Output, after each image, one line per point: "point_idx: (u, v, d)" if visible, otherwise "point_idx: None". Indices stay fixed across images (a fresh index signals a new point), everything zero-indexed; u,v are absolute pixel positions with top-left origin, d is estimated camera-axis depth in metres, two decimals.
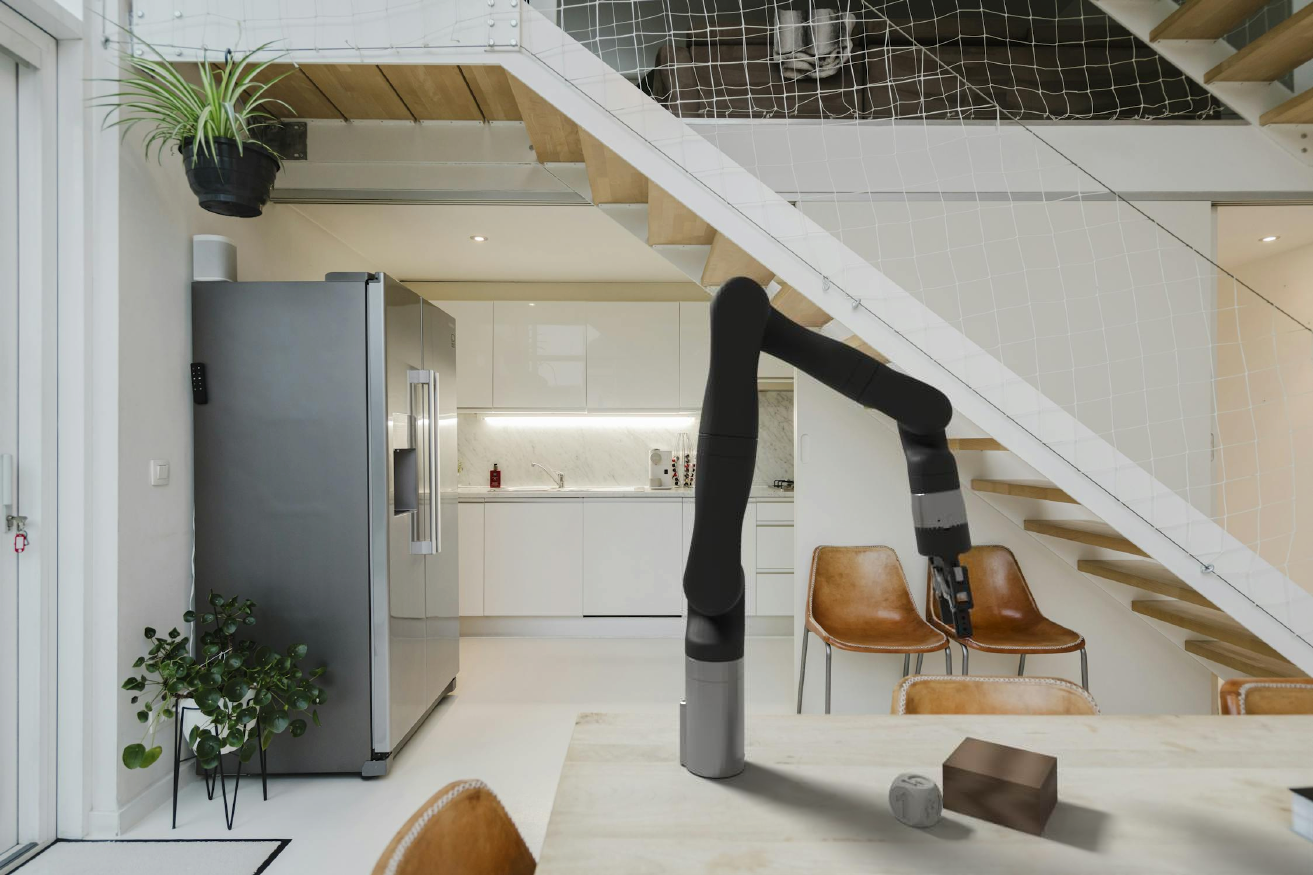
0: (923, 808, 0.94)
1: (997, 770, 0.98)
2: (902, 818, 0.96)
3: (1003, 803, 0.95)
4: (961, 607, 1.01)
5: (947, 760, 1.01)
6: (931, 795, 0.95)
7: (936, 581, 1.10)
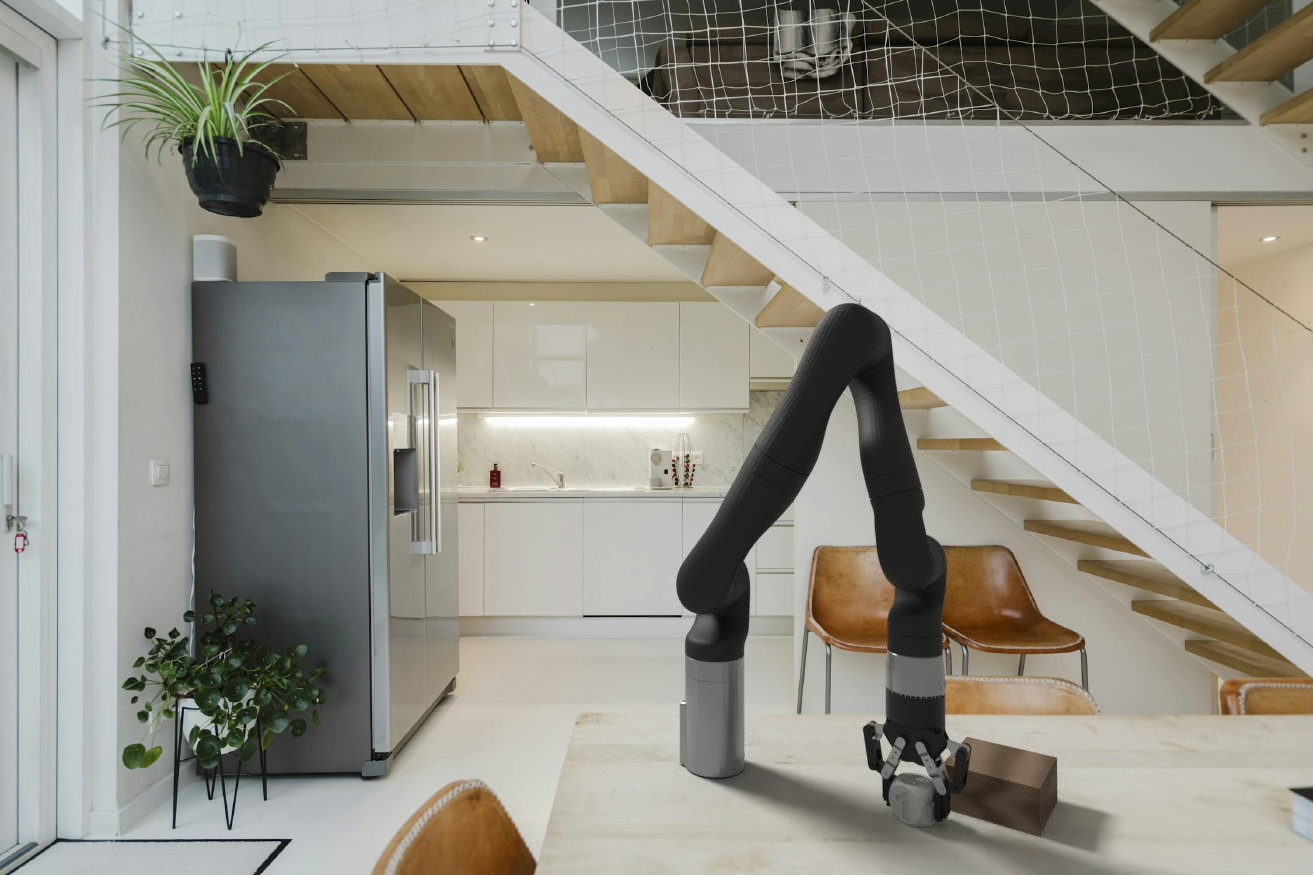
0: (923, 807, 0.94)
1: (997, 770, 0.98)
2: (902, 817, 0.96)
3: (1003, 803, 0.95)
4: (961, 788, 0.93)
5: (947, 760, 1.01)
6: (931, 794, 0.95)
7: (900, 755, 0.97)
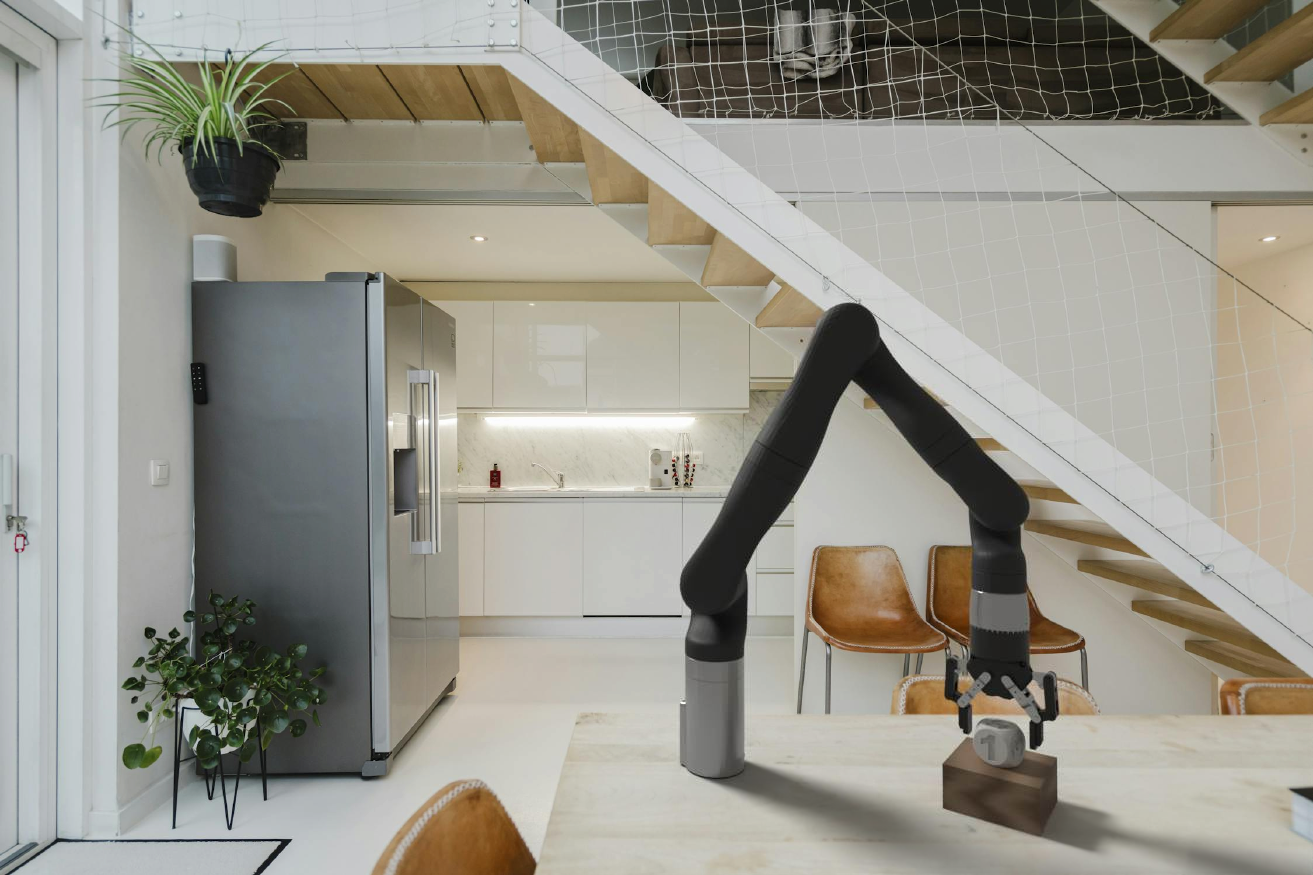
0: (1010, 748, 0.98)
1: (997, 770, 0.98)
2: (988, 759, 0.99)
3: (1003, 803, 0.95)
4: None
5: (947, 760, 1.01)
6: (1016, 736, 0.99)
7: (981, 688, 1.01)
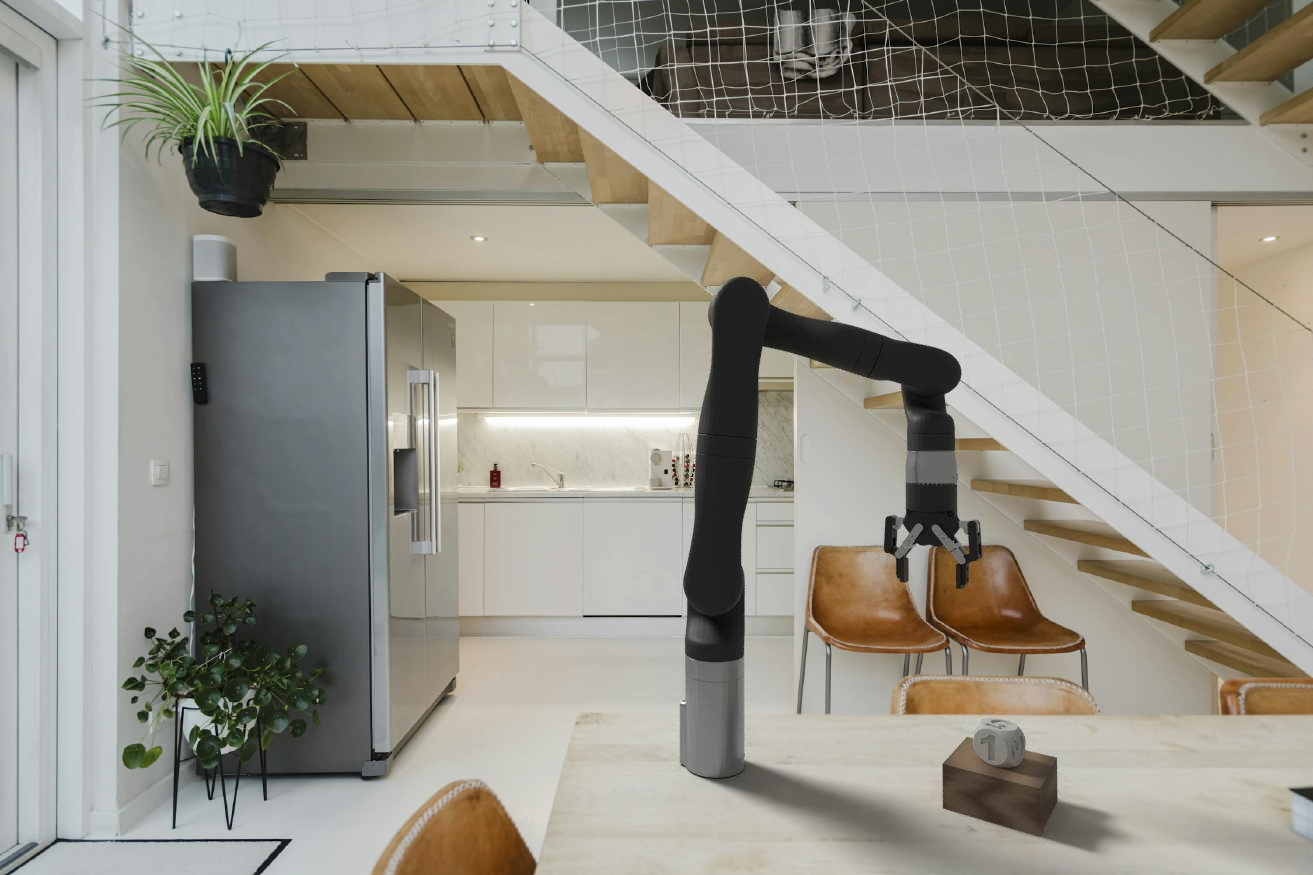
0: (1010, 748, 0.98)
1: (997, 770, 0.98)
2: (988, 759, 0.99)
3: (1003, 803, 0.95)
4: (978, 557, 1.08)
5: (947, 760, 1.01)
6: (1016, 736, 0.99)
7: (915, 539, 1.13)
